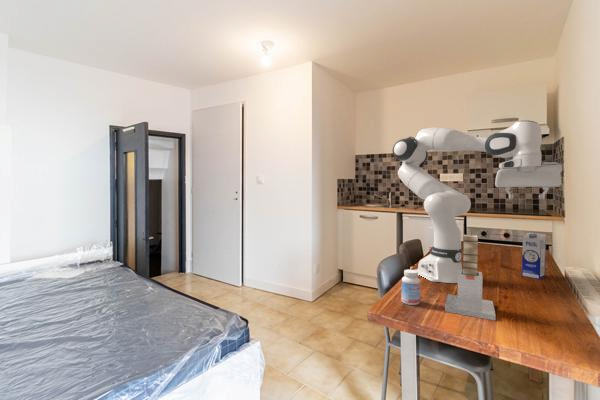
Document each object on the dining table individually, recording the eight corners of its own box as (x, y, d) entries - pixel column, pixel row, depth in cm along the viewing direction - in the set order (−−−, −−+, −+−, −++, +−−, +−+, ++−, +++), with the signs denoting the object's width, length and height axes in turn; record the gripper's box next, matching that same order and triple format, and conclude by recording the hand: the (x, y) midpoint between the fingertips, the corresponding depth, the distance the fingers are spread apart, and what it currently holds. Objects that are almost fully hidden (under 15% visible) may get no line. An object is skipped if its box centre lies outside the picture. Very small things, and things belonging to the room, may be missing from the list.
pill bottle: (411, 306, 103) (411, 274, 102) (397, 301, 108) (398, 270, 108) (423, 303, 105) (423, 272, 105) (409, 298, 111) (410, 268, 111)
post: (462, 286, 100) (463, 236, 100) (462, 283, 104) (463, 234, 103) (477, 288, 98) (478, 237, 98) (476, 285, 102) (477, 235, 101)
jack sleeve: (444, 311, 99) (445, 275, 98) (447, 298, 111) (448, 266, 111) (495, 320, 92) (496, 281, 92) (492, 305, 104) (493, 271, 104)
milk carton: (545, 277, 138) (546, 233, 137) (539, 279, 134) (541, 235, 134) (527, 273, 144) (528, 232, 143) (521, 275, 140) (522, 233, 139)
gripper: (560, 162, 112) (559, 199, 113) (494, 165, 123) (494, 198, 123) (564, 160, 107) (563, 199, 107) (495, 163, 117) (495, 199, 118)
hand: (526, 199), depth 115 cm, fingers open, 8 cm apart
